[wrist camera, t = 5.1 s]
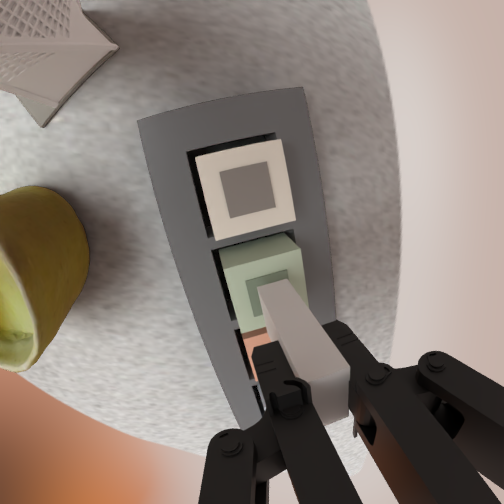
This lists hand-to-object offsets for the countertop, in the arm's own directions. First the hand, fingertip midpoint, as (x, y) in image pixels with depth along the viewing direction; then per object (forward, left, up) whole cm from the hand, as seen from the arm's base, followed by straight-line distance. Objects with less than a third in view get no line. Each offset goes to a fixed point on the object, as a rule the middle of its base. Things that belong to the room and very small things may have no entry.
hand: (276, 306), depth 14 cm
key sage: (0, 0, -4) cm, 4 cm away
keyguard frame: (+3, 0, -6) cm, 6 cm away
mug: (-5, -16, -6) cm, 18 cm away
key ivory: (-6, 0, -4) cm, 7 cm away
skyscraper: (-17, -9, -6) cm, 20 cm away
